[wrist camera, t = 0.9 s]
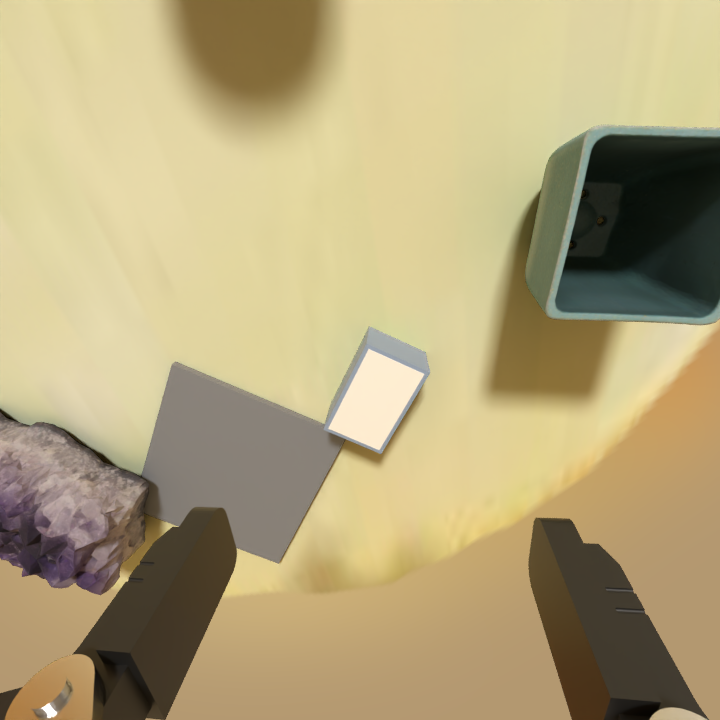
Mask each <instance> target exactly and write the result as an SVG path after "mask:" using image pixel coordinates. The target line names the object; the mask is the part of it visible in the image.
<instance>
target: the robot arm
mask: <svg viewBox="0 0 720 720" xmlns="http://www.w3.org/2000/svg"><path fill="white" fill-rule="evenodd" d="M236 557H237V550H236V544H235V541H234V538H233V534H232V531H231V527H230V524H229V520H228V517H227V513H226V511H225V509H224V508H219V507H194V508H193V509H191V510H190V512H189V513H188V514H187V516H186V517H185V519H184V520H183V522H182V523H181V525H180V526H179V527H172V528H171V529H170V530H168V531H167V532H166V533H165V534H164V535H163V536H161V537H160V538H159V539H158V540H157V541H155V542H154V543H153V545H152V546H151V548H150V549H149V550H148V552H147V553H146V554H145V556H144V557H143V559H142V560H141V561H140V565H139V566H137V567H136V568H135V570H134V571H133V573H132V574H131V575H130V577H129V580H128V582H125V584H124V585H123V586H122V588H121V589H120V591H119V592H118V593H117V595H116V597H115V598H114V599H113V600H112V602H111V603H110V605H109V606H108V607H107V609H106V610H105V612H104V613H103V614H102V616H101V617H100V619H99V620H98V621H97V623H96V624H95V625H94V627H93V628H92V630H91V631H90V632H89V634H88V635H87V636H86V638H85V639H84V641H83V642H82V644H81V645H80V646H79V647H78V649H77V650H76V651H75V652H74V653H73V654H72V655H69V656H65V657H62V658H60V659H58V660H56V661H54V662H52V663H51V664H49V665H47V666H46V667H45V668H43V669H42V670H40V671H39V672H38V673H37V674H35V675H34V676H33V677H32V678H31V679H30V680H29V681H28V682H27V683H26V684H25V685H24V686H23V687H22V688H18V689H14V690H11V691H7V692H4V693H0V720H145V719H146V718H153V719H161V720H165V719H166V717H167V715H168V713H169V711H170V708H171V706H172V704H173V702H174V700H175V697H176V695H177V693H178V691H179V689H180V687H181V684H182V682H183V680H184V677H185V676H186V673H187V671H188V669H189V667H190V665H191V663H192V660H193V658H194V656H195V654H196V651H197V649H198V647H199V645H200V643H201V641H202V639H203V636H204V634H205V632H206V630H207V628H208V625H209V623H210V621H211V619H212V617H213V614H214V612H215V610H216V608H217V606H218V604H219V602H220V599H221V597H222V595H223V593H224V591H225V588H226V586H227V584H228V582H229V580H230V578H231V575H232V573H233V571H234V568H235V564H236ZM529 577H530V582H531V587H532V590H533V594H534V597H535V601H536V604H537V607H538V610H539V614H540V617H541V620H542V623H543V627H544V630H545V633H546V636H547V639H548V643H549V646H550V649H551V653H552V656H553V659H554V662H555V666H556V669H557V672H558V676H559V679H560V682H561V685H562V689H563V692H564V695H565V698H566V702H567V705H568V708H569V712H570V715H571V717H572V720H709V719H708V718H707V716H706V715H705V714H704V713H703V711H702V710H701V708H700V707H699V705H698V704H697V702H696V700H695V699H694V698H693V695H692V694H691V692H690V690H689V688H688V686H687V685H686V683H685V681H684V680H683V677H682V676H681V674H680V672H679V670H678V669H677V667H676V665H675V663H674V661H673V660H672V658H671V656H670V654H669V652H668V651H667V649H666V647H665V645H664V643H663V642H662V640H661V638H660V636H659V634H658V633H657V631H656V629H655V627H654V626H653V624H652V622H651V620H650V618H649V616H648V615H646V614H645V611H644V608H643V606H642V604H641V602H640V601H639V599H638V597H637V595H636V594H634V592H633V588H632V586H631V584H630V582H629V581H628V579H627V577H626V575H625V574H624V572H623V570H622V568H621V566H620V565H619V564H618V563H617V562H616V561H615V560H614V559H613V558H612V557H611V556H610V555H609V554H608V553H607V552H606V551H605V550H604V549H603V548H602V547H601V546H600V545H599V544H585V543H583V541H582V539H581V537H580V535H579V533H578V531H577V529H576V527H575V525H574V524H573V522H572V521H571V520H570V519H561V518H536V519H535V521H534V525H533V533H532V540H531V548H530V556H529Z"/></svg>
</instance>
